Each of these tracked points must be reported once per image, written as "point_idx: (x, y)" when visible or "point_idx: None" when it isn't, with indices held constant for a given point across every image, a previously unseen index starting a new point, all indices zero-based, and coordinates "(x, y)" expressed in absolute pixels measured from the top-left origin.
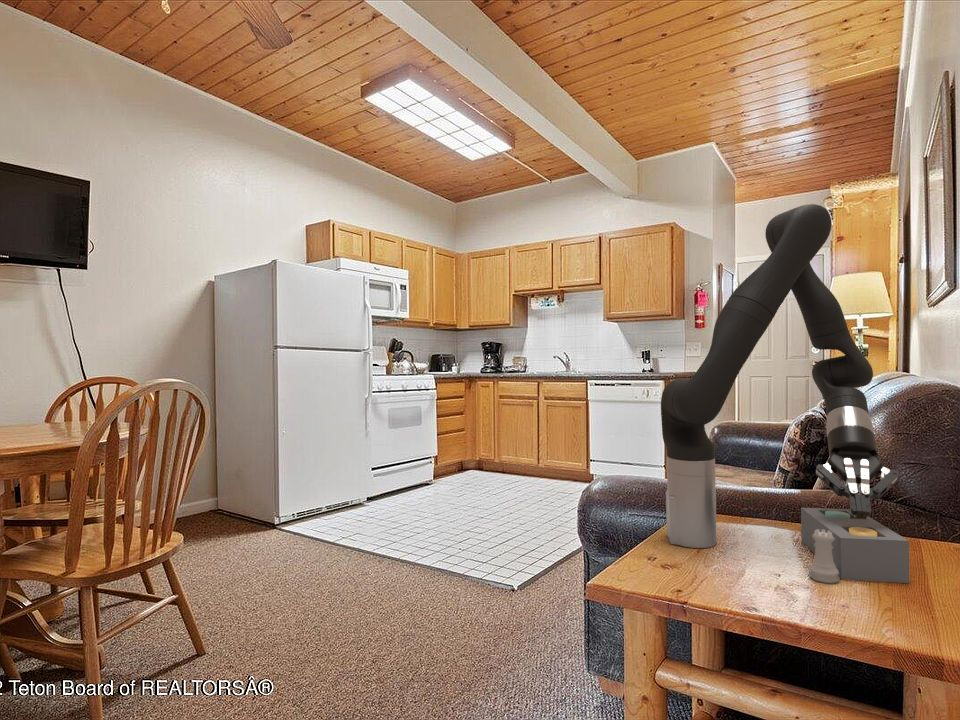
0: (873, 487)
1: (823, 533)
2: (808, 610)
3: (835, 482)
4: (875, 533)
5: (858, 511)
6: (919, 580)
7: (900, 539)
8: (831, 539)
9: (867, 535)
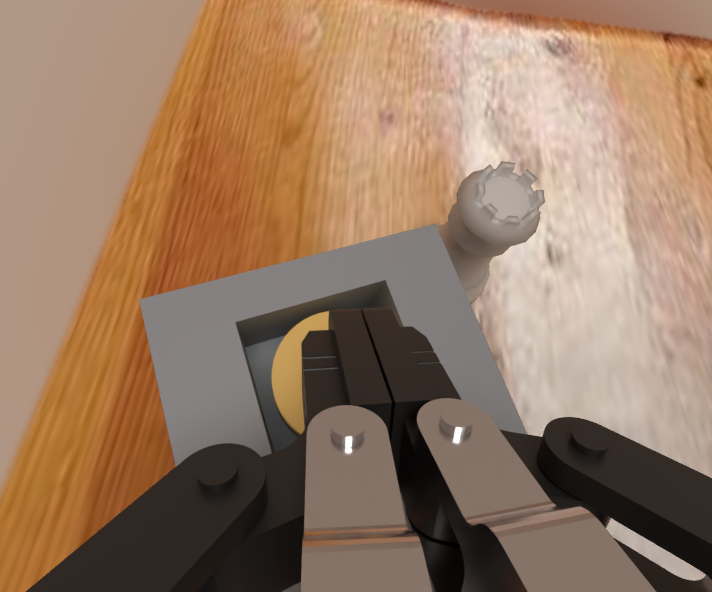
0: (257, 491)
1: (507, 167)
2: (457, 73)
3: (672, 479)
4: (282, 346)
5: (383, 308)
6: (142, 399)
7: (176, 305)
8: (468, 177)
9: (323, 312)
